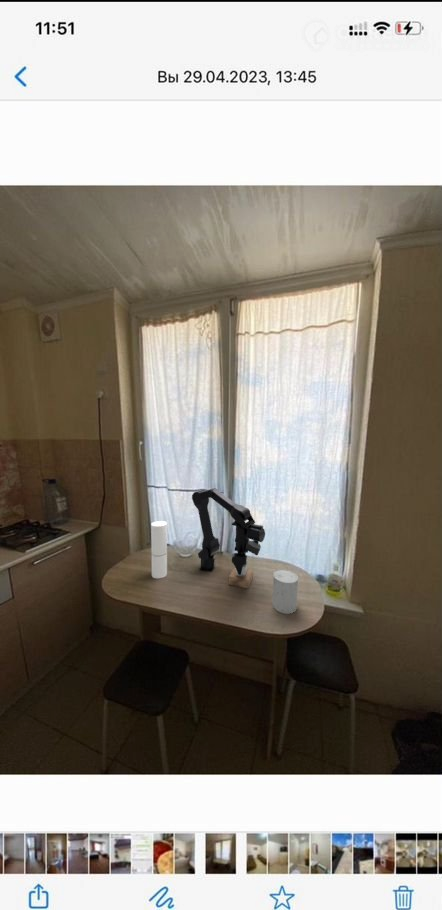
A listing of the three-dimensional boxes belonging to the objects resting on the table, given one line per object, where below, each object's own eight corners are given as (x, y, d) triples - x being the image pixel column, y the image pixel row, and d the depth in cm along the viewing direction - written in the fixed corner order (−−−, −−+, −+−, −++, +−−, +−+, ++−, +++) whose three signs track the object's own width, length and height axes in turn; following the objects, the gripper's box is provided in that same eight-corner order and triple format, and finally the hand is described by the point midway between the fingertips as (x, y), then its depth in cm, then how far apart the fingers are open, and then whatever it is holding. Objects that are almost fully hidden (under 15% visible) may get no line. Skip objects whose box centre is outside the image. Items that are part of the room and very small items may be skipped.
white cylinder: (278, 594, 106) (279, 566, 105) (300, 604, 100) (302, 575, 99) (267, 606, 98) (268, 576, 97) (290, 617, 92) (292, 586, 91)
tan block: (228, 584, 112) (229, 576, 112) (234, 574, 121) (234, 566, 121) (248, 589, 110) (248, 580, 109) (252, 578, 118) (252, 570, 118)
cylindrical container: (168, 570, 123) (168, 521, 121) (164, 579, 116) (163, 526, 114) (154, 569, 123) (154, 520, 121) (149, 577, 116) (148, 525, 114)
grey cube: (235, 576, 112) (236, 565, 112) (236, 570, 117) (237, 560, 117) (245, 577, 112) (246, 566, 111) (246, 571, 116) (247, 561, 116)
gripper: (258, 546, 102) (257, 583, 103) (260, 530, 120) (259, 560, 122) (231, 544, 104) (231, 579, 106) (237, 527, 123) (237, 558, 124)
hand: (241, 568), depth 114 cm, fingers open, 9 cm apart
